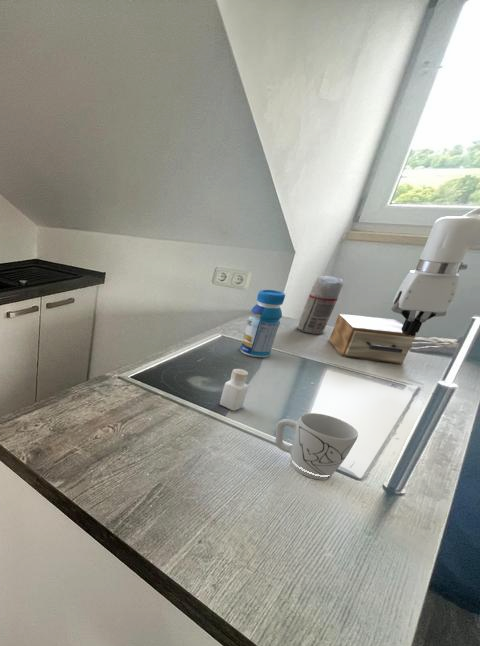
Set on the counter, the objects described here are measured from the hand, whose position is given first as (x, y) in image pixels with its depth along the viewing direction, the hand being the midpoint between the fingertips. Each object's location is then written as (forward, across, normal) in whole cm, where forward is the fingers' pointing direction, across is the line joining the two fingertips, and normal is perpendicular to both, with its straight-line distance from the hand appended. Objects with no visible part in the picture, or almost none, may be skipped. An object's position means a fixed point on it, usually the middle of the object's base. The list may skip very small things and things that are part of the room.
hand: (408, 334), depth 107 cm
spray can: (+12, +14, -31) cm, 36 cm away
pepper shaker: (+11, +43, +41) cm, 61 cm away
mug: (+11, +32, +60) cm, 69 cm away
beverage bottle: (+11, +34, +1) cm, 36 cm away
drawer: (+11, +3, -11) cm, 15 cm away
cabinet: (+12, +3, -15) cm, 19 cm away
